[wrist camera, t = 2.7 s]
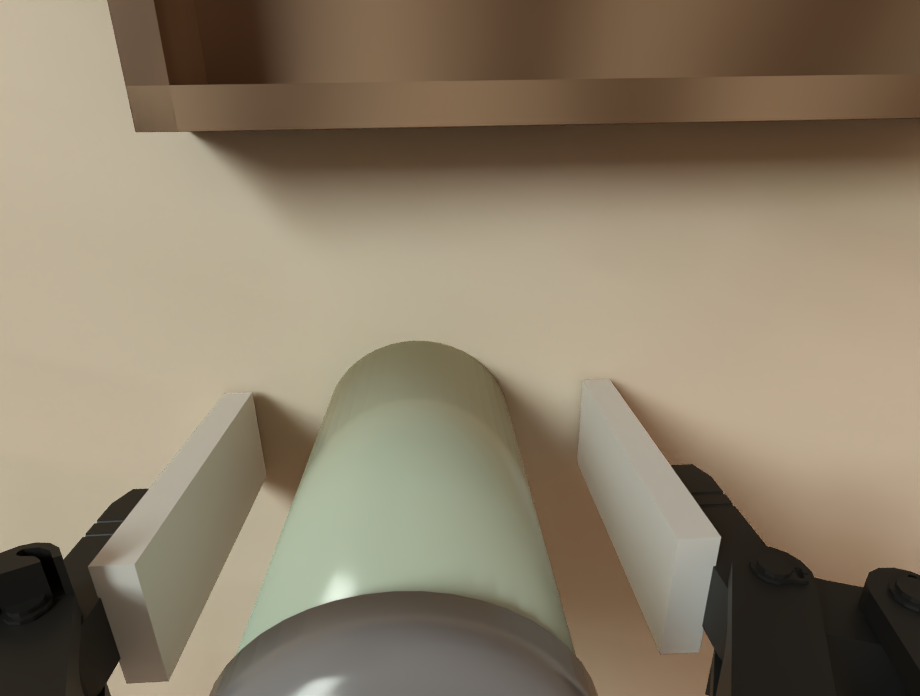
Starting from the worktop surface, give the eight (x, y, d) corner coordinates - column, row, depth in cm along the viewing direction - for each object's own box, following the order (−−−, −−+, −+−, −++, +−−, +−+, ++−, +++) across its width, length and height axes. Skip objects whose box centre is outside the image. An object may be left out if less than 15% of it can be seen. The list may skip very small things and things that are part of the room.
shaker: (332, 507, 17) (191, 1051, 7) (311, 339, 15) (72, 762, 5) (511, 499, 17) (624, 1015, 7) (514, 332, 15) (677, 724, 5)
